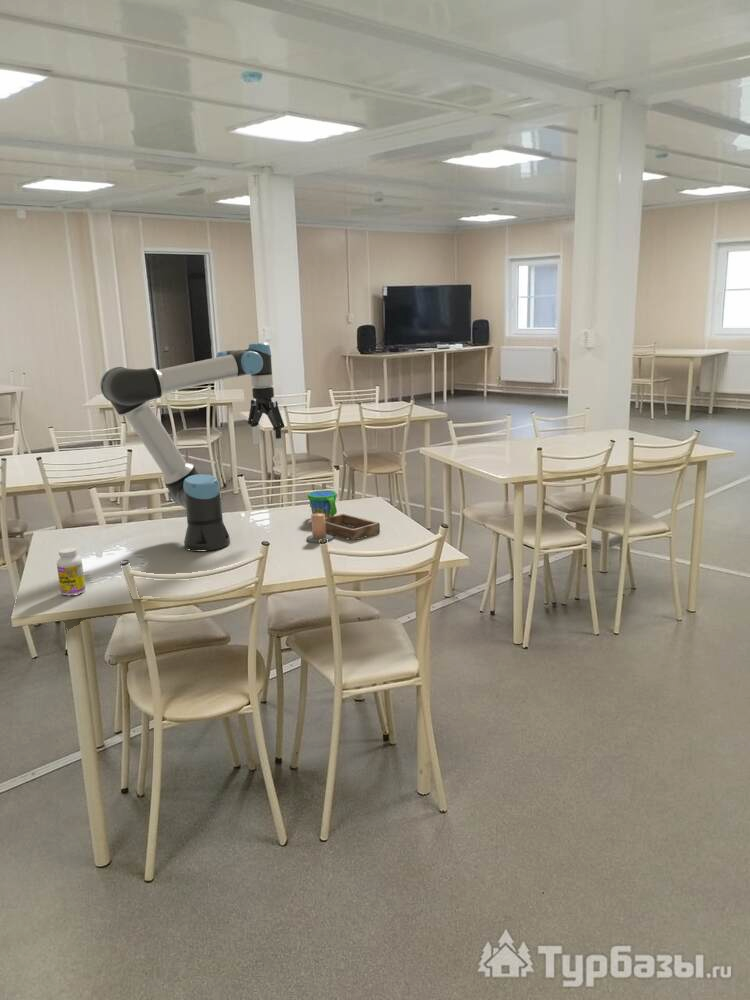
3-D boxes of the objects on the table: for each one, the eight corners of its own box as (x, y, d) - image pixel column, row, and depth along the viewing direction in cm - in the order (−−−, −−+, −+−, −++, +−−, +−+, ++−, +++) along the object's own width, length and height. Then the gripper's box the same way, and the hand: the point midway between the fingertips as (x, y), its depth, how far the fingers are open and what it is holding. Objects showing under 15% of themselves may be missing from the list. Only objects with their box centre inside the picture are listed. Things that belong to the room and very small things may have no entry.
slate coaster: (317, 544, 255) (317, 542, 255) (301, 539, 261) (301, 537, 261) (338, 538, 261) (338, 537, 260) (322, 533, 267) (322, 532, 267)
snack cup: (345, 522, 281) (344, 495, 279) (319, 526, 276) (317, 499, 274) (328, 513, 295) (326, 487, 292) (302, 517, 290) (300, 491, 287)
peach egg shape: (318, 540, 258) (316, 517, 256) (310, 537, 261) (308, 515, 259) (329, 537, 261) (327, 514, 259) (320, 534, 264) (319, 512, 262)
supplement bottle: (56, 597, 216) (49, 553, 213) (69, 588, 223) (62, 546, 220) (78, 597, 215) (72, 553, 212) (90, 589, 222) (84, 546, 219)
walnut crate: (353, 540, 258) (352, 530, 257) (317, 529, 272) (316, 520, 272) (379, 532, 265) (379, 522, 265) (343, 522, 280) (342, 513, 279)
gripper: (291, 387, 267) (295, 447, 272) (252, 384, 286) (257, 440, 291) (273, 389, 262) (278, 450, 267) (235, 386, 281) (240, 443, 286)
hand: (267, 445), depth 279 cm, fingers open, 13 cm apart
